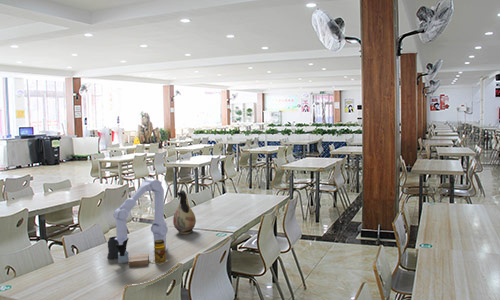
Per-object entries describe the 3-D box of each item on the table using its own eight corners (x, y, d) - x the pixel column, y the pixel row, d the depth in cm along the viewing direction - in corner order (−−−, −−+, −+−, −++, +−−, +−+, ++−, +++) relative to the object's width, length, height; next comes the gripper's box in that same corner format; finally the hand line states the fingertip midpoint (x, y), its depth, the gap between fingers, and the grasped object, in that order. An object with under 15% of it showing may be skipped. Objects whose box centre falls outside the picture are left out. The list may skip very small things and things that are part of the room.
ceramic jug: (171, 231, 287) (169, 189, 284) (192, 227, 293) (190, 186, 290) (177, 237, 271) (175, 193, 269) (199, 234, 278) (197, 190, 275)
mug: (118, 259, 234) (116, 240, 233) (103, 259, 236) (102, 239, 235) (129, 252, 245) (127, 234, 244) (115, 251, 247) (114, 233, 246)
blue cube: (119, 259, 234) (119, 251, 233) (128, 259, 235) (128, 250, 234) (118, 263, 229) (117, 254, 228) (127, 262, 230) (127, 253, 229)
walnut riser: (130, 260, 231) (130, 255, 231) (149, 258, 233) (148, 253, 233) (129, 267, 222) (128, 261, 221) (148, 265, 223) (147, 259, 223)
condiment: (160, 264, 224) (159, 243, 223) (149, 262, 228) (147, 241, 227) (169, 260, 230) (168, 239, 229) (158, 258, 234) (157, 237, 233)
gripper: (115, 227, 236) (117, 250, 238) (112, 234, 222) (113, 258, 223) (128, 226, 238) (129, 248, 239) (125, 233, 223) (127, 257, 225)
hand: (123, 253), depth 231 cm, fingers open, 7 cm apart
